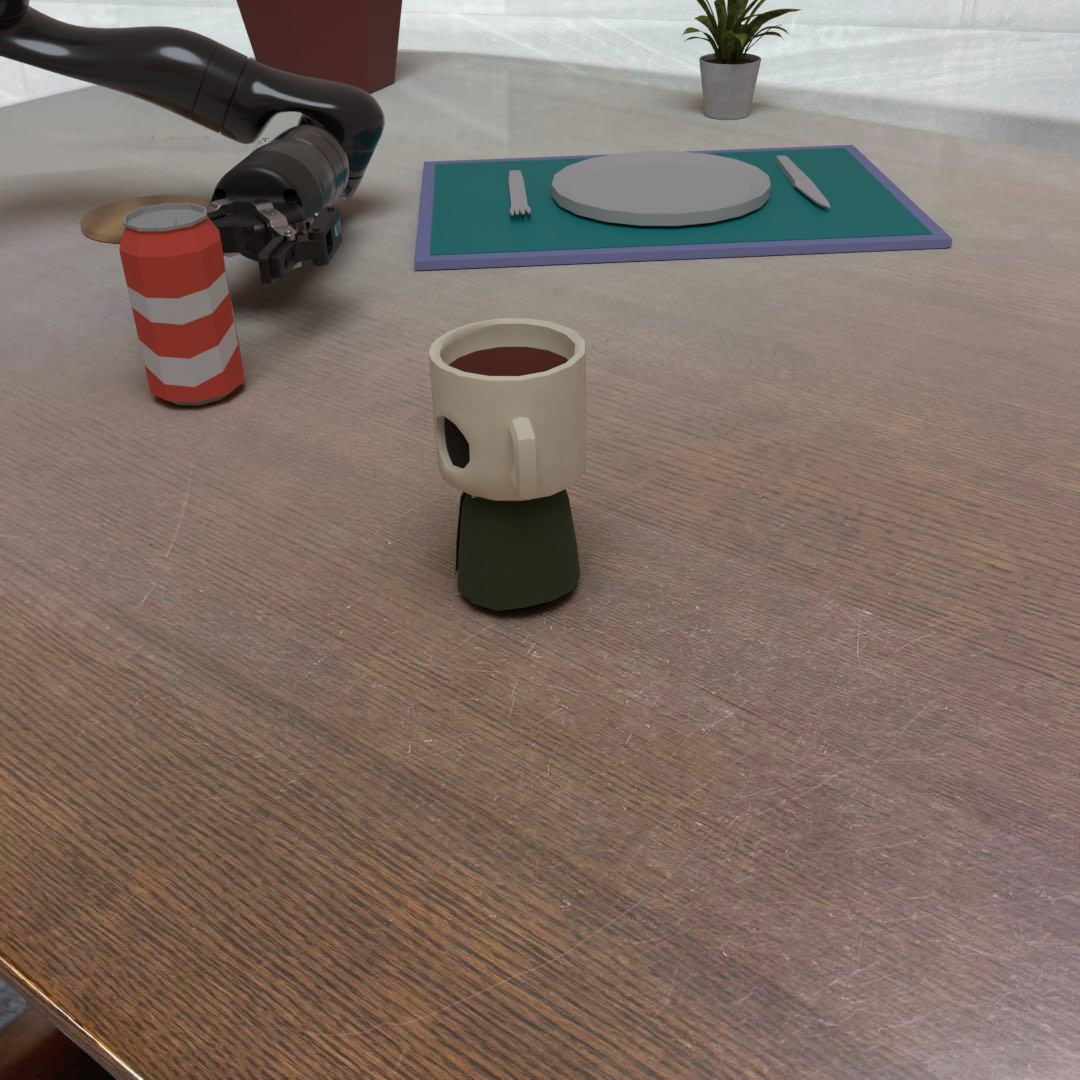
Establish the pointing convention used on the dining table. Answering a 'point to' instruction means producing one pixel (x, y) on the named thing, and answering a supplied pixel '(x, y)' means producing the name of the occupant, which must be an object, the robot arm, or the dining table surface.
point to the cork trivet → (110, 217)
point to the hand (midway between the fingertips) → (202, 269)
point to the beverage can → (181, 303)
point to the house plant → (731, 56)
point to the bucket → (327, 38)
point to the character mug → (511, 454)
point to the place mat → (663, 208)
